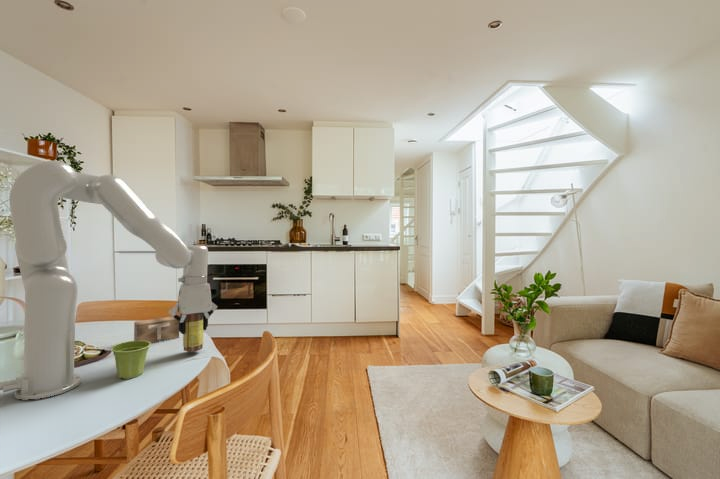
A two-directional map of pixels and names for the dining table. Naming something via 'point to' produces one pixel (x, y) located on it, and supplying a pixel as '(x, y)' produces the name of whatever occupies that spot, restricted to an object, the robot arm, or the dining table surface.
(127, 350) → the plant pot
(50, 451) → the dining table surface
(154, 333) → the letter block
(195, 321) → the sauce bottle
